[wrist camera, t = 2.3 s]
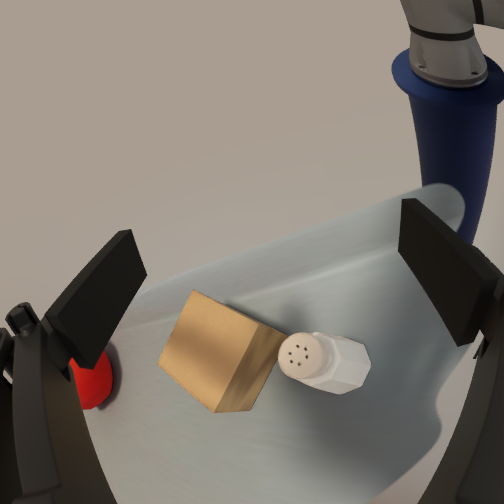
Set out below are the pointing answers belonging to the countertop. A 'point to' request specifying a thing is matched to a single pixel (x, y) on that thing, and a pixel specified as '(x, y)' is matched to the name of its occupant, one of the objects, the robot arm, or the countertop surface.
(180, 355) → the wood block
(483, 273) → the robot arm
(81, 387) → the tomato
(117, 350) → the countertop surface
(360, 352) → the salt shaker
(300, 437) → the countertop surface
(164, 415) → the countertop surface
